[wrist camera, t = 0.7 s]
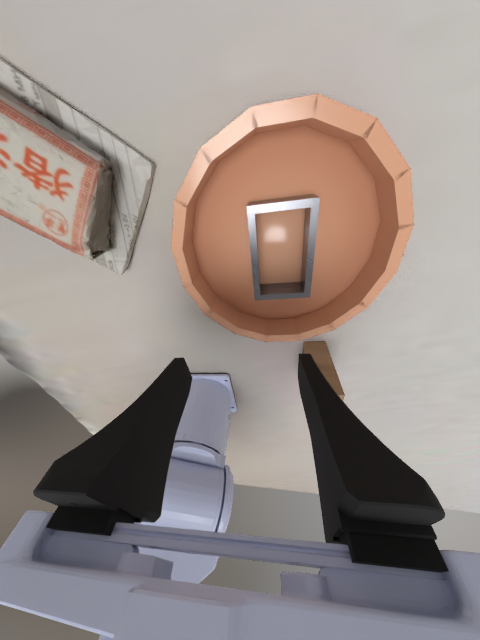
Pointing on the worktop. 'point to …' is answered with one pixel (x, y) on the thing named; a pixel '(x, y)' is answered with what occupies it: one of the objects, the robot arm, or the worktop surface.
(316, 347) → the wood hatch door
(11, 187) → the packaged product
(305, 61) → the worktop surface
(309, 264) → the hinged hatch frame
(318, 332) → the orange round shallow bowl
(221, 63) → the worktop surface
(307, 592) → the robot arm
